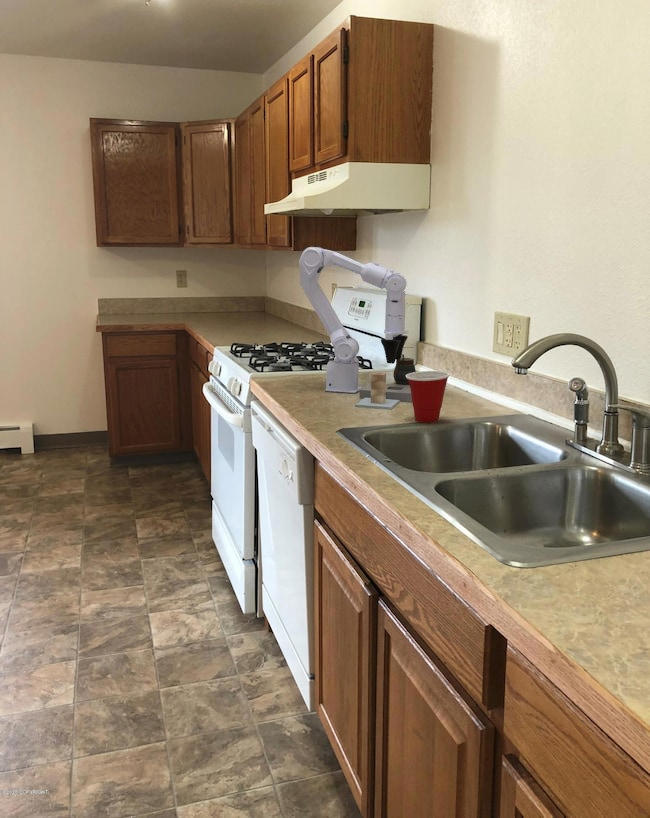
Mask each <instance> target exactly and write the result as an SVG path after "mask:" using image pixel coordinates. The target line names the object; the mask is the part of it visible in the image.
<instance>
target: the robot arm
mask: <svg viewBox="0 0 650 818" xmlns="http://www.w3.org/2000/svg"><path fill="white" fill-rule="evenodd" d="M298 266H299V286H300V287H301V289H302V291H303V293H304V294H305V295H306V298H307V299H308V301H309V303H310V304H311V306H312V307H313V308H312V309H314V311H315V313H316V315H317V316H318V318H319V320H320V321H321V324H322V325H323V326H324V329H325V330H326V332H327V334H328V336H329V339H330V342H331V345H332V346H333V352H334V356H335V358H334V360H329V361H328V362H327V365H326V368H325V369H326V373H325V374H326V375H325V377H326V378H325V391H326V392H333V393H347V394H348V393H350V394H356V393H358V392H360V389H362V388H363V387H362V386H359V370H360V369H359V367H360V366H359V365H360V364H359V359H358V357H357V355H358V353H359V351H360V345H359V342H358V341H357V340H356V339H355V338H353V337H352V335H351V334H350V333H349V332H348V330H347V329H346V328H345V327H344V325H343V323H342V322H341V320H340V318H339V317H338V314H337V313H336V311H335V309H334V308H333V306H332V305H331V303H330V301H329V300H328V297H327V296H326V294H325V292H324V291H323V289H322V287H321V286H320V283H319V278H320V275H321V272H322V270H323V269H324V268H325V267H329V266H336V267H339V268H342V269H345V270H347V271H350V272H352V273H355V274H357V275H360V278H361V280H362V281H363V282H365V283H367V284H370V285H372V286H375V287H377V288H379V289H381V290H383V289H385V290H386V299H385V312H384V313H385V319H384V320H385V322H384V331H383V332H384V334H385V337H384V338H381V339H380V343H381V344H382V346H383V350H384V354H385V360H386V363H387V364H392V365H393V364H396V360H400V359H401V358H402V354H403V350H404V346H405V344H406V342H407V340H408V338H409V337H408V335H405V334H409V330H405V327H406V326H405V324H406V323H405V322H406V291H404V290H406V287H407V286H408V285H407V279H406V278H405V276H404V275H402V274H401V273H399V272H395V271H394V269H387V268H385V267H383V266H380V263H379V262H377V261H375V262H371V261H370V262H368V263H366V264H364V263H362V262H359V261H357V260H354V259H353V258H350V257H348V256H345V255H344V254H341V253H339V252H336V251H334V250H329V249H324V248H322V247H319V246H317V247H316V246H315V247H314V246H310V247H307V248H305V249H304V250H303V251H302V253H301V255H300V257H299V259H298ZM394 272H395V273H394Z"/></svg>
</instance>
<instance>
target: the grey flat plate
mask: <svg viewBox="0 0 650 818" xmlns="http://www.w3.org/2000/svg"><path fill="white" fill-rule="evenodd" d="M358 398H359V399H361V400H362V399H364V398H371V382H369V383H367V384H366V385H365V386H363V387H362V389H360V390H359V397H358ZM385 399H392V400H400V402H402V403H412V396H411V389H410V385H409V384H396V383H395V384H394V383H386V398H385Z"/></svg>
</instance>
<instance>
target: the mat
mask: <svg viewBox="0 0 650 818" xmlns="http://www.w3.org/2000/svg"><path fill="white" fill-rule="evenodd" d="M400 402H401V401H400V400H392V399H385V402H384V403H383V404H376V403H371V398H364V399H361V400H359V401H358V402H357V403H355V407H356V408H366V409H368V408H369V409H381V410H393V409H394V408H395V407H396V406H397V405H398V404H399V403H400Z"/></svg>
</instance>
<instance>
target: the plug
mask: <svg viewBox="0 0 650 818" xmlns="http://www.w3.org/2000/svg"><path fill="white" fill-rule="evenodd" d="M370 383H371V403H376V404H383V403H384V402H385V398H386V384H387V372H374V371H373V373H371V375H370Z"/></svg>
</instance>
